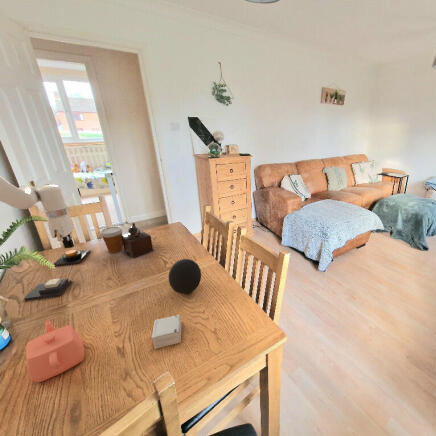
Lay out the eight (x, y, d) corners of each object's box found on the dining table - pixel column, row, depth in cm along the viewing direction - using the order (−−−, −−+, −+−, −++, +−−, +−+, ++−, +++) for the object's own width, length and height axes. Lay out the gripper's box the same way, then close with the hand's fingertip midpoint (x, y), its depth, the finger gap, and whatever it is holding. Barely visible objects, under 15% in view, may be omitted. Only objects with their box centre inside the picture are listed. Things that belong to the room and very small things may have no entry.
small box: (157, 330, 82) (154, 319, 80) (182, 325, 85) (180, 313, 83) (153, 349, 75) (151, 337, 73) (181, 343, 78) (179, 331, 76)
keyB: (64, 257, 116) (63, 254, 115) (68, 253, 119) (67, 250, 119) (74, 256, 117) (73, 253, 116) (78, 252, 120) (77, 249, 120)
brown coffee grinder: (122, 252, 126) (114, 221, 120) (144, 244, 135) (138, 215, 128) (137, 262, 119) (129, 229, 112) (159, 253, 127) (153, 222, 120)
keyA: (45, 288, 94) (44, 285, 94) (50, 283, 98) (49, 279, 97) (56, 287, 96) (55, 283, 95) (61, 281, 99) (60, 278, 98)
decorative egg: (186, 279, 109) (182, 250, 103) (208, 286, 105) (205, 257, 99) (164, 295, 98) (158, 264, 92) (188, 304, 94) (183, 272, 88)
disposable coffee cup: (101, 255, 123) (95, 234, 118) (110, 246, 131) (104, 226, 127) (122, 253, 125) (117, 233, 121) (129, 245, 134) (125, 225, 129)
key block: (53, 266, 112) (51, 261, 111) (67, 253, 123) (65, 249, 122) (79, 263, 115) (77, 259, 114) (90, 251, 126) (88, 247, 125)
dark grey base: (24, 301, 91) (21, 294, 90) (39, 286, 99) (37, 280, 98) (60, 296, 95) (57, 290, 93) (71, 282, 103) (69, 276, 101)
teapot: (33, 399, 61) (17, 371, 57) (31, 353, 72) (18, 327, 68) (90, 369, 69) (79, 343, 65) (80, 331, 80) (71, 307, 76)
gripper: (56, 207, 115) (68, 241, 122) (36, 219, 102) (51, 256, 109) (75, 206, 117) (85, 239, 124) (58, 217, 104) (71, 254, 111)
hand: (69, 247), depth 116 cm, fingers closed
